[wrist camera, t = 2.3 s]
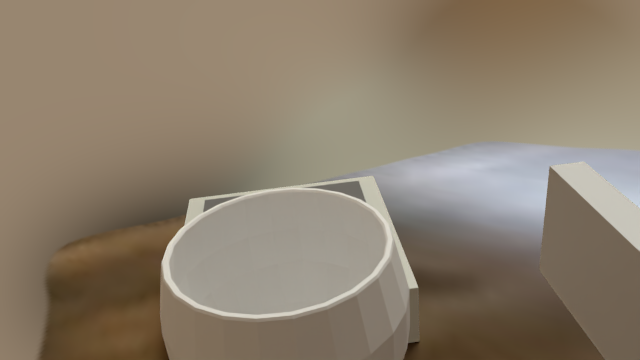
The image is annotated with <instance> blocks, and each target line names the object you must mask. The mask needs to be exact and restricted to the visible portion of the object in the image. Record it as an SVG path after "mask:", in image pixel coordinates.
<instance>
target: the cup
mask: <svg viewBox="0 0 640 360" xmlns="http://www.w3.org/2000/svg"><path fill="white" fill-rule="evenodd" d="M160 318H161V327H162V335H163V339H164V343H165V346H166V350H167V353H168V357H169V360H403V359H404V356H405V353H406V350H407V345H408V338H409V330H410V298H409V286H408V283H407V279H406V276H405V272H404V269H403V266H402V262H401V259H400V256H399V253H398V250H397V246H396V243H395V240H394V237H393V234H392V230H391V227H390V225H389V224H388V222H387V221H386V220H385V219H384V217H383V216H382V215H381V214H380V213H379V211H378V210H376V209H375V208H373V207H372V206H370V205H369V204H367V203H365V202H364V201H362V200H361V199H358V198H355V197H352V196H349V195H346V194H344V193H341V192H335V191H329V190H323V189H317V188H285V189H275V190H266V191H262V192H257V193H253V194H248V195H244V196H240V197H238V198H235V199H232V200H229V201H226V202H224V203H221V204H218V205H216V206H215V207H213V208H211V209H209V210H207V211H205V212H203V213H201V214H199V215H198V216H196V217H195V218H194V219H193V220H191V221H190V222H189V223H187V224H186V225H185V226H184V227H182V228H181V229H180V230H179V231H178V233H177V234H176V235H175V236H174V238H173V239H172V240H171V241H170V243H169V244H168V246H167V248H166V251H165V254H164V257H163V260H162V263H161V293H160Z"/></svg>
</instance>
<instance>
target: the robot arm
mask: <svg viewBox="0 0 640 360" xmlns="http://www.w3.org/2000/svg"><path fill="white" fill-rule="evenodd" d="M539 271H540V272H541V273H542V275H543V276H544V277H545V279H546V280H547V281H548V283H549V284H550V286H551V287H552V288H553V290H554V291H555V292H556V294H557V295H558V296H559V298H560V299H561V300H562V302H563V303H564V305H565V306H566V307H567V309H568V310H569V311H570V313H571V314H572V315H573V317H574V318H575V319H576V321H577V322H578V323H579V325H580V326H581V328H582V329H583V330H584V332H585V333H586V334H587V336H588V337H589V338H590V340H591V341H592V342H593V344H594V345H595V346H596V348H597V349H598V351H599V352H600V353H601V355H602V356H603V357H604V359H605V360H640V208H639V207H637V206H636V205H635V204H634V203H633V202H631V201H630V200H629V199H628V198H627V197H625V196H624V195H623V194H622V193H621V192H620V191H618V190H617V189H616V188H615V187H614V186H612V185H611V184H610V183H609V182H608V181H606V180H605V179H604V178H603V177H602V176H600V175H599V174H598V173H597V172H596V171H595V170H593V169H592V168H591V167H590V166H589V165H587V164H586V163H585V162H578V163H569V164H561V165H553V166H550V169H549V178H548V188H547V198H546V208H545V218H544V228H543V238H542V248H541V257H540V267H539Z"/></svg>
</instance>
